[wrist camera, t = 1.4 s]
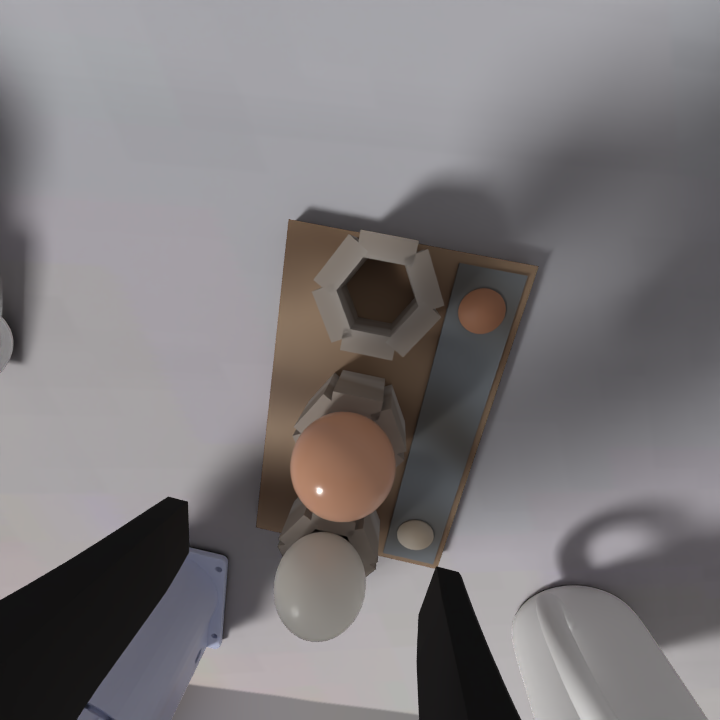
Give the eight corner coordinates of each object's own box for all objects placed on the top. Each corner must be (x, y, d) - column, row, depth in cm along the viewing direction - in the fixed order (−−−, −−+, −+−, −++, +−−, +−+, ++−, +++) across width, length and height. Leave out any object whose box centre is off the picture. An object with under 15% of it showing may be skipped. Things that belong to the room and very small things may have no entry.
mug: (461, 566, 23) (510, 802, 13) (584, 520, 21) (753, 759, 11) (538, 679, 25) (629, 952, 15) (655, 648, 23) (846, 938, 13)
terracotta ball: (385, 484, 17) (382, 560, 13) (300, 465, 17) (269, 534, 13) (405, 406, 16) (408, 462, 12) (312, 386, 16) (281, 434, 12)
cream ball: (361, 584, 19) (351, 677, 15) (285, 566, 20) (254, 653, 15) (376, 522, 18) (370, 606, 14) (294, 504, 18) (263, 580, 14)
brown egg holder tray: (435, 555, 23) (443, 616, 19) (261, 516, 23) (235, 567, 19) (530, 265, 17) (570, 269, 13) (294, 221, 17) (265, 211, 13)
